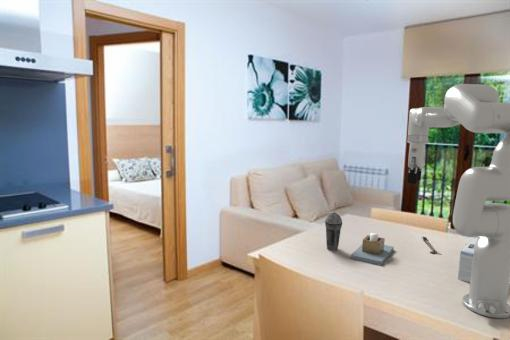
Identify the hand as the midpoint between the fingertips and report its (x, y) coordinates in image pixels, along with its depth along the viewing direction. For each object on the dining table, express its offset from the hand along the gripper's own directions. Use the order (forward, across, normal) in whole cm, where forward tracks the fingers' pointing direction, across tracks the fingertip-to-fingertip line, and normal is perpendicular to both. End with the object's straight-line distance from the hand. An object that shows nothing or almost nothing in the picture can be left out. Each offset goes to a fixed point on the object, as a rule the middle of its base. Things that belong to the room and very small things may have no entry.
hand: (414, 181), depth 147 cm
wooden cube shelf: (+29, -10, +12) cm, 33 cm away
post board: (+30, -10, +12) cm, 34 cm away
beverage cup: (+31, -14, +28) cm, 44 cm away
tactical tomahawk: (+31, +16, -7) cm, 36 cm away
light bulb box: (+31, -12, -23) cm, 40 cm away
